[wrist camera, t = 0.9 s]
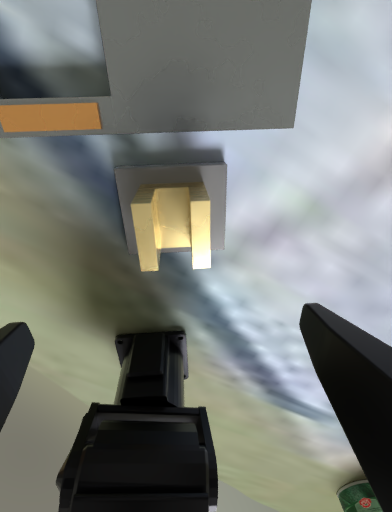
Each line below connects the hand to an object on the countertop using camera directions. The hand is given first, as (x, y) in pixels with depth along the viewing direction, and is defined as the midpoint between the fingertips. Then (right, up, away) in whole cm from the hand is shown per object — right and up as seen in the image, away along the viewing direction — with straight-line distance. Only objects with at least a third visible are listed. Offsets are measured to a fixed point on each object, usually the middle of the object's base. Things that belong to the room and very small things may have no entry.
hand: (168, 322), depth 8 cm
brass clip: (-1, +5, +9) cm, 10 cm away
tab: (-1, +6, +10) cm, 11 cm away
